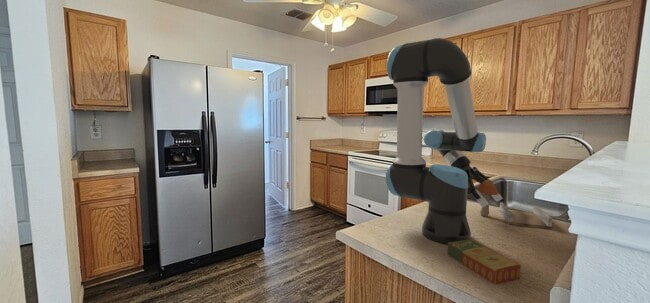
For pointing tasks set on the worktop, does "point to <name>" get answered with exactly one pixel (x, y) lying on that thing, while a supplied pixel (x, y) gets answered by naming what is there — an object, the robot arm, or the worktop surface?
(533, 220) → the track
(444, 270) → the worktop surface
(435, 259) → the worktop surface
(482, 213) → the mushroom
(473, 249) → the carton
